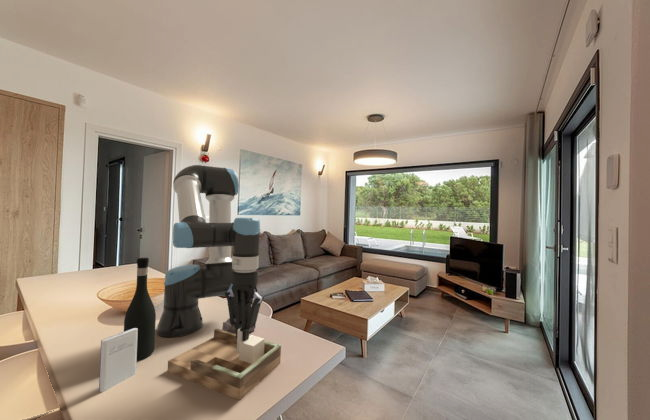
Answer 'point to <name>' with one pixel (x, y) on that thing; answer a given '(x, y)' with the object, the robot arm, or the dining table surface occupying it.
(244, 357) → the block
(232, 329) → the rock
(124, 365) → the hard drive
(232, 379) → the wooden tray
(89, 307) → the dining table surface
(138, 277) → the wine bottle
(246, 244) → the robot arm
